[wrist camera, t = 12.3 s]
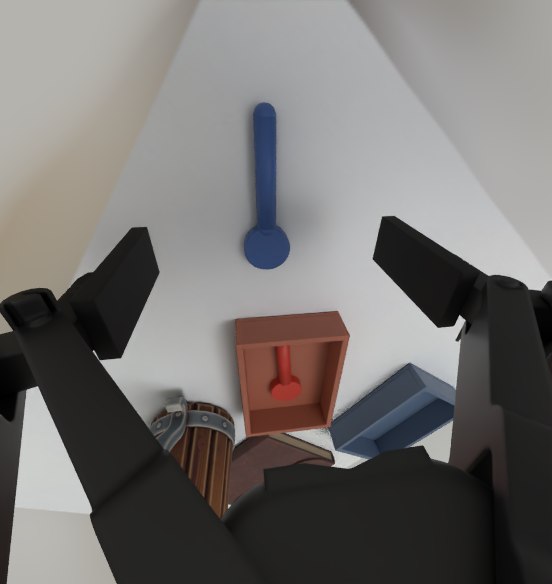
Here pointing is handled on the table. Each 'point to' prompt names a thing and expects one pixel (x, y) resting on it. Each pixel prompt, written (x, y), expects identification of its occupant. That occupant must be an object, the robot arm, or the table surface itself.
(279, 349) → the red spoon
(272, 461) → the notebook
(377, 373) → the table surface
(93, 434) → the robot arm
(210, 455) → the mug
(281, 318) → the red bin
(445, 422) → the blue bin
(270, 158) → the blue spoon
